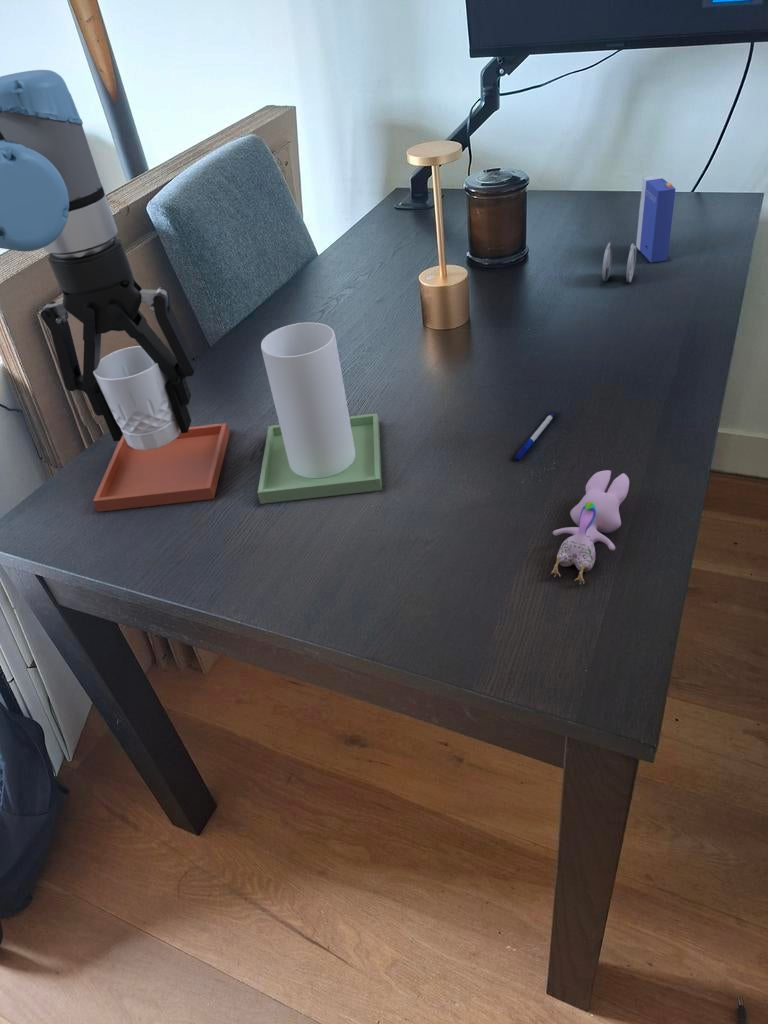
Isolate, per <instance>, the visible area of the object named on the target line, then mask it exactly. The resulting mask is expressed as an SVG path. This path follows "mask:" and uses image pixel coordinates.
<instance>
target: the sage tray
mask: <svg viewBox="0 0 768 1024" xmlns="http://www.w3.org/2000/svg"><path fill="white" fill-rule="evenodd" d="M349 418H350V424H351V430H352V436H353V442H354V447H355V459H354V461H353V463H352V464H351V465H350V466H349V467H348V468H347V469H345V470H344V471H342V472H340V473H338V474H336V475H333V476H329V477H325V478H306V477H302V476H299V475H297V474H295V473H294V472H293V471H292V470H291V468H290V466H289V462H288V457H287V453H286V449H285V445H284V441H283V437H282V433H281V429H280V425H279V424H274V425H268V427H267V432H266V433H267V435H266V439H265V446H264V451H263V458H262V463H261V470H260V476H259V481H258V487H257V496H258V500H259V503H260V505H262V504H272V503H281V502H290V501H298V500H308V499H316V498H325V497H334V496H335V497H336V496H344V495H351V494H360V493H370V492H377V491H378V492H379V491H383V483H382V459H381V458H382V457H381V437H380V435H381V434H380V421H379V420H380V419H379V413H378V412H376V413H368V414H367V413H366V414H359V415H351V416H350V415H349Z"/></svg>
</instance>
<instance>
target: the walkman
mask: <svg viewBox="0 0 768 1024" xmlns="http://www.w3.org/2000/svg"><path fill="white" fill-rule="evenodd" d="M676 190H677V189H676V188H675V187H674V185H673V183H671V182H668V181H667V180H666V179H664V178H663V177H662V176H661V175H659V174H657V175H652V176H651V175H648V176H642V181H641V190H640V191H641V192H640V200H639V212H638V222H637V231H636V232H637V233H636V243H635V246H636V249H637V250H638V251H639V252H640V253H641V254H642V255H643V256H644V257H645V258H646V259H647V260H648V261H649V262H650V263H657V262H659V263H660V262H666V261H668V256H669V247H670V241H671V240H670V239H671V231H672V225H673V223H672V221H673V216H674V215H673V214H674V207H675V197H676Z"/></svg>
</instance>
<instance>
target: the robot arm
mask: <svg viewBox="0 0 768 1024" xmlns="http://www.w3.org/2000/svg"><path fill="white" fill-rule="evenodd" d="M83 125H84V122H83V119H82V118H81V116H80V114H79V111H78V109H77V107H76V104H75V102H74V99H73V96H72V94H71V92H70V90H69V88H68V85H67V83H66V81H65V80H64V78H63V77H62V76H61V75H60V74H59V73H57V72H56V71H53V70H50V69H34V70H25V71H19V72H14V73H9V74H5V75H1V76H0V249H2V250H3V249H4V250H9V251H10V250H11V251H14V252H15V251H16V252H34V251H38V250H41V249H43V250H44V251H45V252H47V253H48V255H49V256H48V259H47V260H48V262H49V265H50V267H51V269H52V272H53V275H54V277H55V279H56V282H57V285H58V287H59V288H60V290H61V292H62V299H61V300H60V301H57V302H56V301H55V300H50V301H48V302H47V303H46V305H45V306H44V308H43V309H42V310H41V311H40V317H41V319H42V321H43V322H44V323H45V325H46V327H47V328H48V329H49V331H50V335H51V338H52V341H53V345H54V349H55V353H56V357H57V360H58V361H57V362H58V364H59V369H60V372H61V376H62V379H63V382H64V387H65V388H66V390H67V391H70V392H74V391H81V392H84V393H85V395H86V396H87V399H88V400H89V403H90V405H91V408H92V410H93V412H94V414H95V415H96V416H97V417H101V416H103V419H104V421H105V423H106V426H107V428H108V430H109V433H110V435H111V438H112V441H113V442H119V441H120V440H121V438H122V435H123V433H122V431H121V428H120V427H119V425H118V424H117V422H116V420H115V418H114V416H113V414H112V412H111V410H110V408H109V406H108V404H107V402H106V399H105V397H104V395H103V393H102V391H101V389H100V386H99V384H98V382H97V380H96V378H95V376H94V374H93V371H95V370H96V369H97V367H98V365H99V362H100V360H101V346H102V345H101V344H102V334H107V333H109V332H111V331H112V332H113V331H114V332H125V333H126V334H127V335H128V336H129V337H130V338H131V339H134V341H136V342H137V343H138V346H141V347H142V348H143V349H144V350H145V352H146V353H147V354H148V355H149V356H150V358H151V359H152V360H153V361H154V362H155V363H158V366H159V368H160V369H161V371H162V372H163V373H164V374H165V375H166V376H167V378H168V381H167V383H166V385H165V388H166V390H167V393H168V396H169V399H170V402H171V405H172V408H173V411H174V413H175V416H176V419H177V422H178V425H179V428H180V431H181V433H188V430H189V427H191V423H192V417H191V415H190V412H189V409H188V406H189V404H190V401H191V398H192V397H191V396H192V394H191V391H190V388H189V385H188V382H187V379H186V378H187V377H192V376H194V374H195V372H196V368H197V365H198V360H197V358H196V356H195V353H194V352H193V349H192V348H191V345H190V344H189V341H188V339H187V337H186V335H185V332H184V331H183V329H182V327H181V325H180V323H179V321H178V318H177V317H176V314H175V312H174V311H173V308H172V307H171V297H170V290H169V289H168V288H167V287H166V286H163V285H162V286H159V287H158V288H157V289H145V288H142V286H141V285H140V284H139V283H138V282H137V281H136V279H135V278H134V275H133V271H132V268H131V265H130V261H129V258H128V256H127V254H126V253H127V252H126V249H125V247H124V244H123V241H122V240H121V239H120V238H118V237H117V234H118V232H119V231H118V227H117V225H116V222H115V218H114V215H113V213H112V210H111V207H110V203H109V201H108V196H107V195H106V193H105V189H104V187H103V184H102V182H101V179H100V176H99V174H98V169H97V167H96V164H95V160H94V157H93V155H92V151H91V148H90V145H89V143H88V139H87V136H86V133H85V129H84V127H83ZM142 302H143V303H145V304H146V305H147V307H148V309H149V311H150V312H154V316H155V318H156V319H155V320H156V322H157V324H158V326H159V327H160V329H161V332H162V334H163V335H164V337H165V339H166V341H167V343H168V345H169V347H170V349H171V350H170V349H169V348H168V347H167V345H166V344H165V343H164V342H163V341H162V339H161V338H160V337H159V335H158V334H157V333H156V332H155V331H154V330H153V328H152V327H151V326H150V325H149V324H148V321H147V318H146V316H145V315H144V314H143V313H142V312H141V310H140V307H141V304H142ZM69 314H70V315H72V316H73V318H75V319H76V320H78V321H79V322H80V323H82V341H83V360H82V361H83V362H82V363H83V365H82V371H81V367H80V362H79V359H78V355H77V351H76V347H75V342H74V339H73V334H72V331H71V327H70V323H69V320H68V319H69ZM171 351H172V352H171Z"/></svg>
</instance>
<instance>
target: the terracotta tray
mask: <svg viewBox="0 0 768 1024" xmlns="http://www.w3.org/2000/svg"><path fill="white" fill-rule="evenodd" d="M229 438H230V430H229V427H228V423H227V422H223V423H213V424H206V425H205V424H204V425H198V426H190V427H189V430H188V433H181V432H180V434H179V436H178V437H177V438H176V439H174V440H173V441H172V442H171V443H169V444H167V445H164V446H162V447H160V448H156V449H150V450H137V449H134V448H132V447H130V446H129V445H128V444H127V442H126V440H125V437H124V435H122V438H121V440H120V441H118V443H117V445H116V447H115V448H114V449H115V450H114V452H113V454H112V457H111V459H110V461H109V464H108V466H107V467H106V470H105V472H104V474H103V477H102V479H101V481H100V484H99V486H98V488H97V491H96V493H95V495H94V497H93V500H92V503H93V505H94V507H95V509H96V512H97V513H101V512H110V511H120V510H128V509H135V508H144V507H145V508H146V507H154V506H163V505H171V504H172V505H173V504H180V503H188V502H189V503H191V502H197V501H198V502H199V501H206V500H214V499H215V497H216V496H215V495H216V492H217V488H218V483H219V479H220V475H221V471H222V467H223V463H224V458H225V455H226V450H227V446H228V442H229Z"/></svg>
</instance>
